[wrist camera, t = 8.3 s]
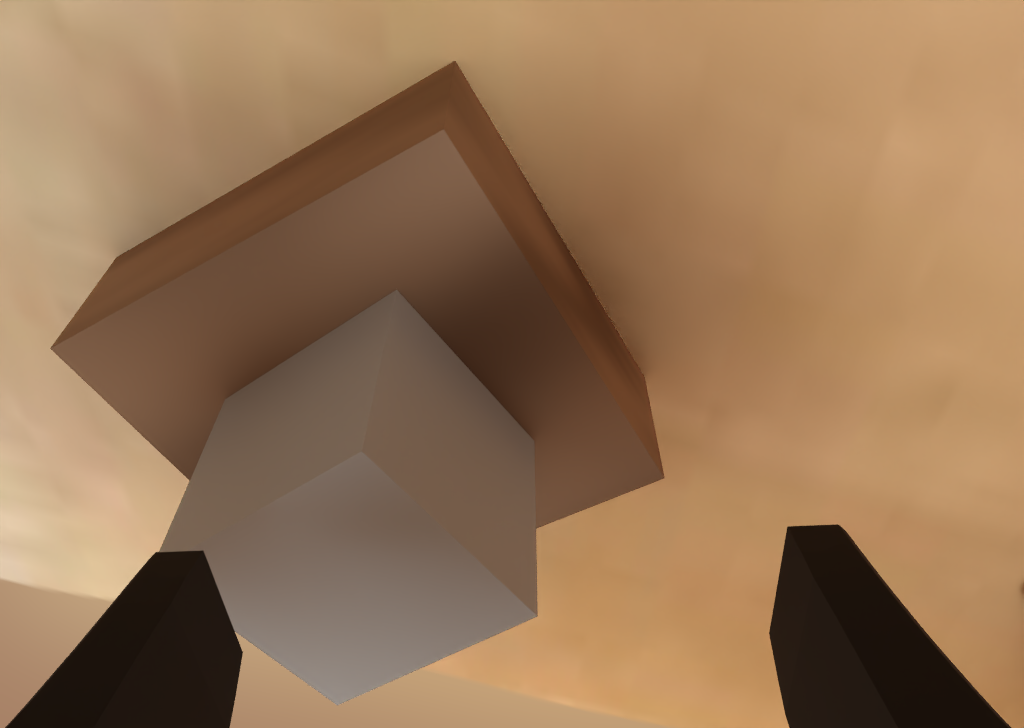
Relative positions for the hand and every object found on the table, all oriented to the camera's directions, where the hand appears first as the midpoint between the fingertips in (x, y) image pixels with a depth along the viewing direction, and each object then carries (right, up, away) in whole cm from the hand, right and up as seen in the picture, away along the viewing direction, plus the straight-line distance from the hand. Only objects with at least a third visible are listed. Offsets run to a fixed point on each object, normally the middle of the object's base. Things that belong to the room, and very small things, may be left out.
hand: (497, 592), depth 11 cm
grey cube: (-3, +2, +7) cm, 8 cm away
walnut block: (-3, +4, +10) cm, 11 cm away
